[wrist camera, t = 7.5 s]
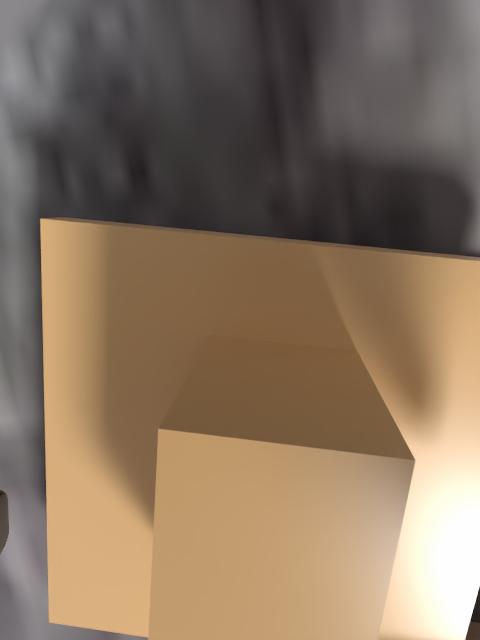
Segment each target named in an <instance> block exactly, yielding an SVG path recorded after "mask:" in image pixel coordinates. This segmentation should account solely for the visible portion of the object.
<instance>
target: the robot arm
mask: <svg viewBox="0 0 480 640" xmlns="http://www.w3.org/2000/svg"><path fill="white" fill-rule="evenodd" d="M8 534H9V519H8V499H7V495H6V493H5V492H4V491H2V490H0V554H1V552H2V550H3V548H4V546H5V544H6V541H7V538H8Z"/></svg>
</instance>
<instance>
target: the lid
mask: <svg viewBox="0 0 480 640" xmlns="http://www.w3.org/2000/svg"><path fill="white" fill-rule="evenodd" d="M40 227H41V273H42V318H43V364H44V409H45V455H46V500H47V546H48V592H49V623H56V624H63V625H69V626H76V627H83V628H89V629H96V630H103V631H109V632H116V633H123V634H129V635H136V636H143V637H148V640H465V638H466V634H467V630H468V627H469V623H470V619H471V616H472V612H473V608H474V605H475V601H476V597H477V594H478V590H479V586H480V257H471V256H461V255H450V254H440V253H429V252H419V251H409V250H398V249H388V248H378V247H367V246H357V245H347V244H336V243H326V242H315V241H305V240H295V239H284V238H274V237H264V236H253V235H243V234H233V233H222V232H212V231H201V230H191V229H181V228H170V227H160V226H150V225H139V224H129V223H119V222H108V221H98V220H87V219H77V218H67V217H58V218H41V219H40Z"/></svg>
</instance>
